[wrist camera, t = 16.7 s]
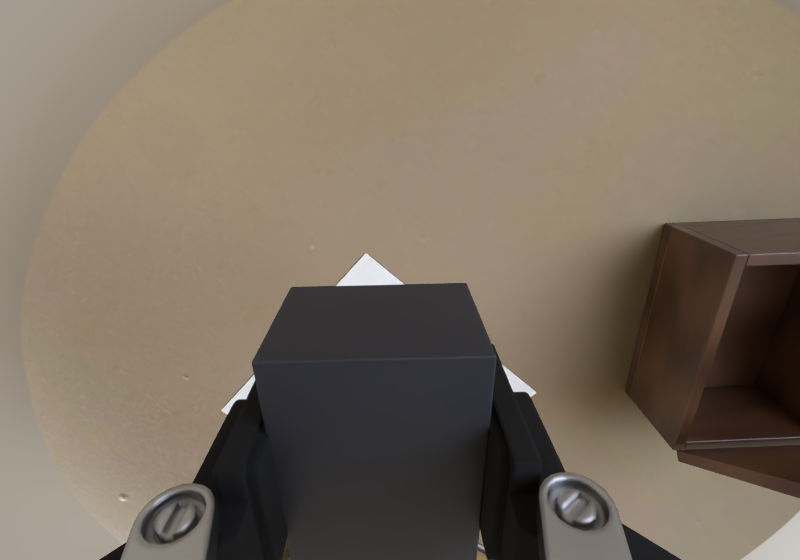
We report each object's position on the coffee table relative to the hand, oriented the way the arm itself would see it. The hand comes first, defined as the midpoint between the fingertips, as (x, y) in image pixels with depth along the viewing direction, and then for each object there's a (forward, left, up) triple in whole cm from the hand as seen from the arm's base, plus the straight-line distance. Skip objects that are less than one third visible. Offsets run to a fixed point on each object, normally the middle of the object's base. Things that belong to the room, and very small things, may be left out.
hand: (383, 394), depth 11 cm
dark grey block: (0, 0, 0) cm, 0 cm away
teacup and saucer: (+16, +7, -20) cm, 27 cm away
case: (-4, +28, -20) cm, 35 cm away
